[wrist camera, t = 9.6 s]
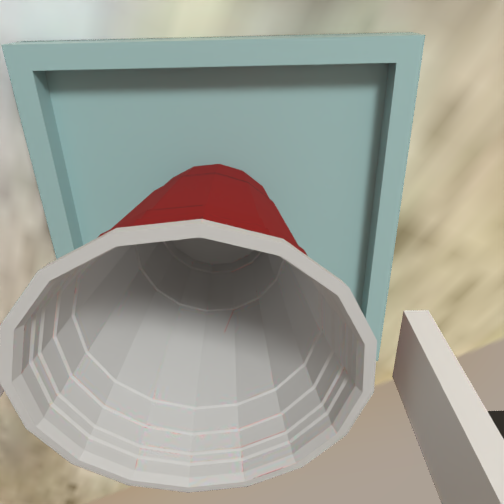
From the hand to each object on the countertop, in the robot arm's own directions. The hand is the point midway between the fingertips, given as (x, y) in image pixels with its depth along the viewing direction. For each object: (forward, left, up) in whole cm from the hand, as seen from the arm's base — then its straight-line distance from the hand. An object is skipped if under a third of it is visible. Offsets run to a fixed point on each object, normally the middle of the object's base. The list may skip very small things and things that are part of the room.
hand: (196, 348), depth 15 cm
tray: (0, 0, -11) cm, 11 cm away
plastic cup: (0, 0, -10) cm, 10 cm away
